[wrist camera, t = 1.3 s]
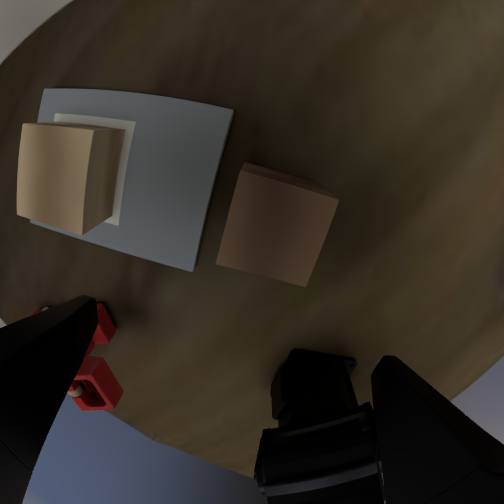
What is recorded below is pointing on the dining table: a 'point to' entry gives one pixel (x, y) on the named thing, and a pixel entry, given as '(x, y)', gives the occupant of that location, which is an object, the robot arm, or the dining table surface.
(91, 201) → the oak base block
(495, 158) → the dining table surface
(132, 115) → the plate
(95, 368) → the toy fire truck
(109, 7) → the dining table surface
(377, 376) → the robot arm
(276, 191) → the walnut cube
